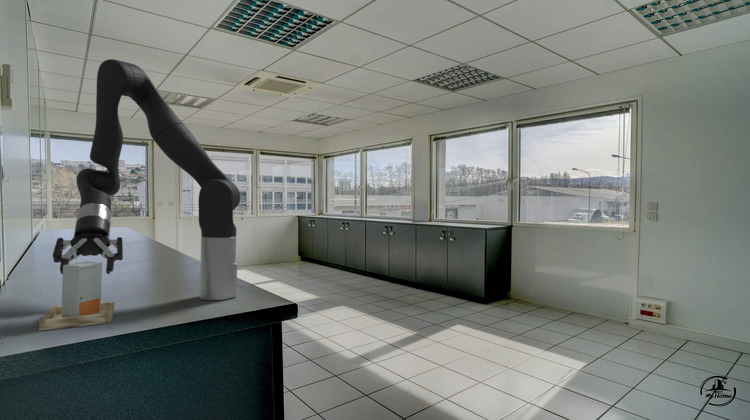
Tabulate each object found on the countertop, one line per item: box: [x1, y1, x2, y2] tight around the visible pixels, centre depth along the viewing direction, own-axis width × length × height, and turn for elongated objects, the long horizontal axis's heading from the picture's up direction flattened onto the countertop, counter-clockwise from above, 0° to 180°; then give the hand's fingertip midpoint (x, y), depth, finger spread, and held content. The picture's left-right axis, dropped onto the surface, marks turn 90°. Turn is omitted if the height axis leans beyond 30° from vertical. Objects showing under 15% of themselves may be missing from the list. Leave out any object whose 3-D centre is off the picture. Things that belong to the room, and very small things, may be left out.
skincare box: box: [61, 260, 103, 318], centre depth 86 cm, size 6×4×12 cm
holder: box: [38, 300, 116, 331], centre depth 86 cm, size 12×12×2 cm
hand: (87, 273), depth 95 cm, fingers open, 8 cm apart
